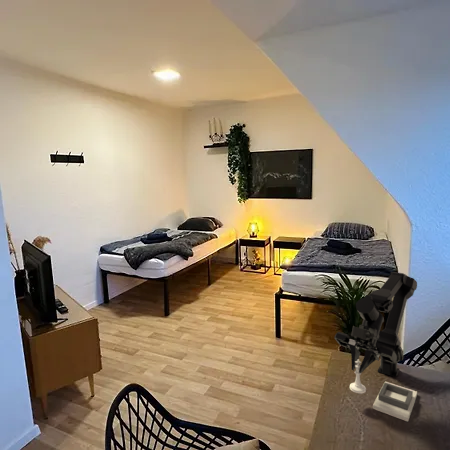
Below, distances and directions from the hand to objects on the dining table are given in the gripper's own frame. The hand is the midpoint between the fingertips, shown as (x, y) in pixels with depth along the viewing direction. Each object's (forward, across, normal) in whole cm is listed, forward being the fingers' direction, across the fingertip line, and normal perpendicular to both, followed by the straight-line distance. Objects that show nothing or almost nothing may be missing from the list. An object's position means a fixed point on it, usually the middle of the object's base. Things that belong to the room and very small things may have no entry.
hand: (356, 371), depth 104 cm
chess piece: (+4, 0, +6) cm, 7 cm away
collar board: (+1, +8, +17) cm, 19 cm away
